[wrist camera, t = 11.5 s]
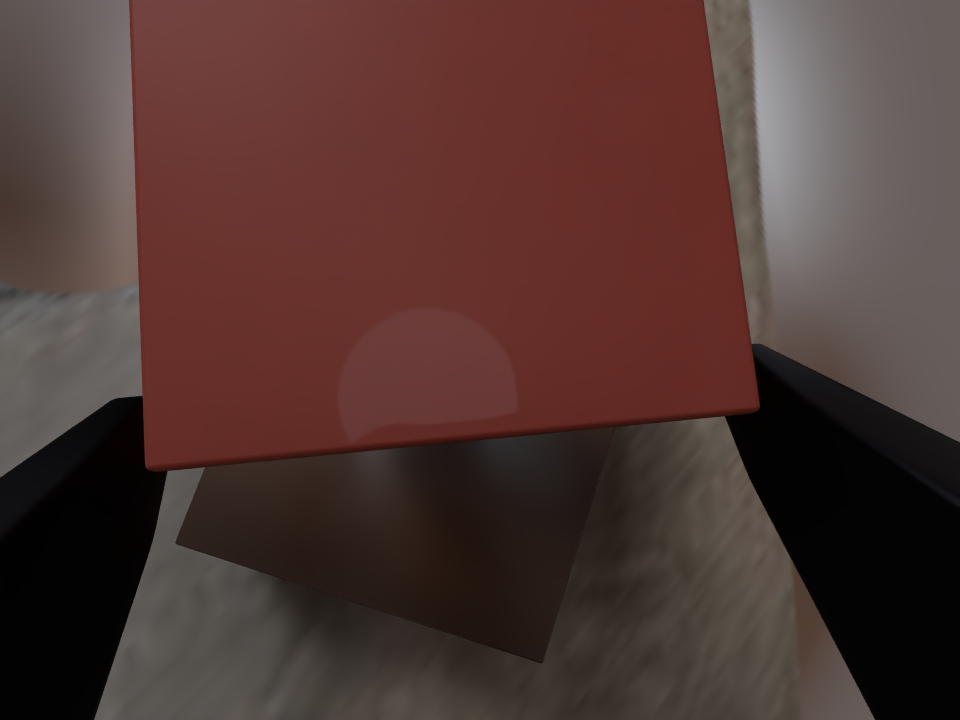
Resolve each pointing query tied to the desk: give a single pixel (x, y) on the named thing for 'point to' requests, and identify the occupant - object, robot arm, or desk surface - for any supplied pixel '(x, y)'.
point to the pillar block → (428, 224)
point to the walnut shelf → (417, 529)
